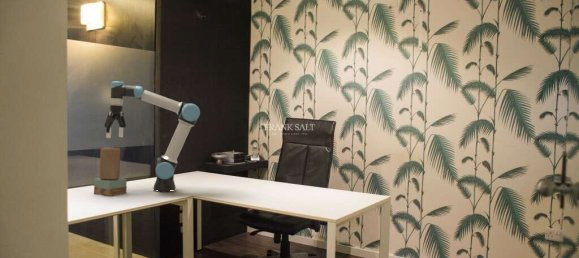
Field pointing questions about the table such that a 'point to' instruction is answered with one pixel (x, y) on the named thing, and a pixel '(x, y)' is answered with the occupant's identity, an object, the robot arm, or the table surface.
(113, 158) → the block
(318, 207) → the table surface
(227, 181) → the table surface
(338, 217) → the table surface
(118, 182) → the tower top
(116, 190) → the tower base
